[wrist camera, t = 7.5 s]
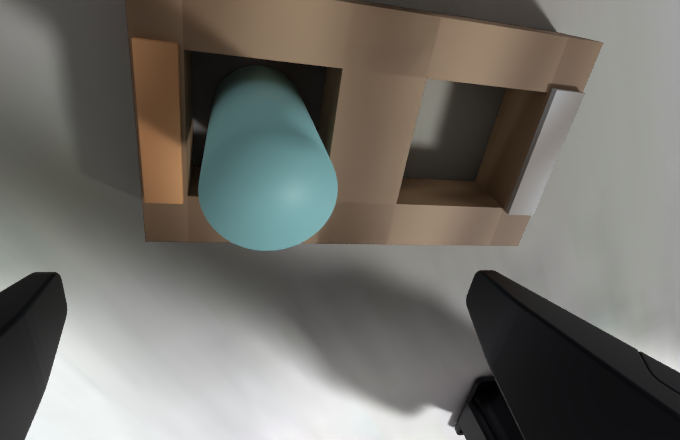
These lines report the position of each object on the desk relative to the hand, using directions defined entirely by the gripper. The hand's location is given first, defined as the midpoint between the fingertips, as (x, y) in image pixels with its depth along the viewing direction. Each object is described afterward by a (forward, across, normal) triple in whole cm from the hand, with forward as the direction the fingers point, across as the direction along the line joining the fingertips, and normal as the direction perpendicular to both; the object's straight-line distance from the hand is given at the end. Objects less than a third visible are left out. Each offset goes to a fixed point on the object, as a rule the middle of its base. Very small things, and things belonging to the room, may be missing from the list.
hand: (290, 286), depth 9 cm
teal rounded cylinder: (+12, 0, 0) cm, 12 cm away
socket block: (+12, -4, 0) cm, 13 cm away
